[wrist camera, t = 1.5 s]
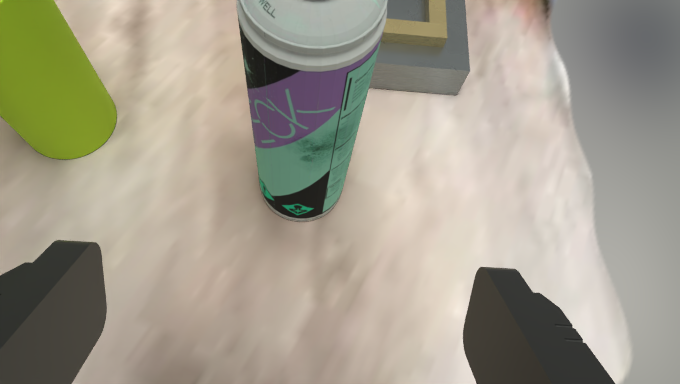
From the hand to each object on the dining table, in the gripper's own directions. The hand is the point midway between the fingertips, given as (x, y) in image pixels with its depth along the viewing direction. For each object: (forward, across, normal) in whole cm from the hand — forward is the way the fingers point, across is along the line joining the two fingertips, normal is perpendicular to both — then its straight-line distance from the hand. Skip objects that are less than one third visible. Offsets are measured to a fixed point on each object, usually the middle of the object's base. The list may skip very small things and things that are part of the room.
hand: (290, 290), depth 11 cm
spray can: (+22, 0, +7) cm, 23 cm away
